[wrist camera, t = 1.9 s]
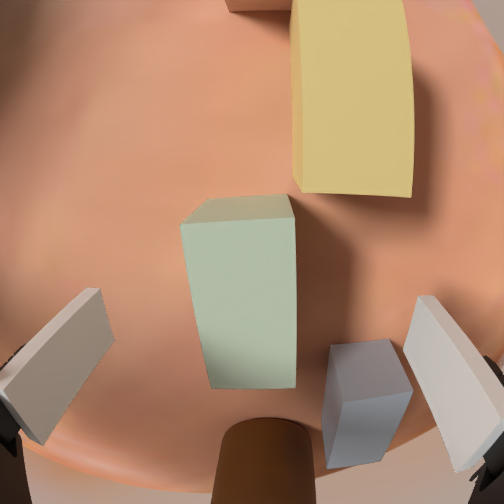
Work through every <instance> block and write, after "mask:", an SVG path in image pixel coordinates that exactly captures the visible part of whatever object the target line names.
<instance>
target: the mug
mask: <svg viewBox="0 0 504 504" xmlns="http://www.w3.org/2000/svg"><path fill="white" fill-rule="evenodd" d="M211 504H316V491H315V476H314V465H313V453H312V444H311V439H310V437H309V435H308V433H307V432H306V431H305V430H304V429H303V428H302V427H301V426H299V425H297V424H295V423H293V422H290V421H286V420H281V419H274V418H258V419H251V420H246V421H243V422H240V423H238V424H236V425H234V426H232V427H231V428H230V429H229V430H228V431H227V432H226V433H225V435H224V437H223V440H222V443H221V449H220V455H219V460H218V465H217V470H216V476H215V482H214V488H213V494H212V500H211Z"/></svg>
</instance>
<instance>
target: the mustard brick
mask: <svg viewBox="0 0 504 504" xmlns="http://www.w3.org/2000/svg"><path fill="white" fill-rule="evenodd" d="M289 33H290V55H291V84H292V137H293V178H294V180H295V181H296V183H297V184H298V186H299V188H300V189H301V191H302V193H333V194H358V195H378V196H394V197H408V198H411V195H412V182H413V165H414V93H413V77H412V65H411V55H410V46H409V38H408V31H407V24H406V18H405V13H404V7H403V2H402V0H293V3H292V10H291V16H290V23H289Z"/></svg>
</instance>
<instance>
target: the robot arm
mask: <svg viewBox="0 0 504 504" xmlns="http://www.w3.org/2000/svg"><path fill="white" fill-rule="evenodd" d="M114 341H115V340H114V337H113V334H112V330H111V327H110V323H109V320H108V316H107V313H106V309H105V305H104V301H103V297H102V293H101V289H100V288H89V287H87V288H86V289H84V290H83V291H82V292H81V293H80V294H79V295H78V296H77V297H75V298H74V299H73V300H72V301H71V302H70V303H69V304H68V305H67V306H66V307H64V308H63V309H62V310H61V311H60V312H59V313H58V314H57V315H56V316H55V317H54V318H53V319H52V320H51V321H50V322H48V323H47V324H46V325H45V326H44V327H43V328H42V329H41V330H40V331H39V332H38V333H37V334H36V335H35V336H34V337H33V338H32V339H31V340H30V341H29V342H27V343H26V344H24V345H22V346H21V347H20V348H19V349H18V350H17V351H16V352H15V353H14V356H11V357H10V358H9V359H8V362H6V363H5V364H4V365H3V366H2V367H1V368H0V504H32V501H31V496H30V492H29V487H28V482H27V476H26V470H25V463H24V456H23V448H22V440H21V436H20V435H19V433H18V432H19V430H20V429H22V430H23V431H24V433H25V434H26V435H27V437H28V438H29V439H31V440H33V441H35V442H37V443H39V444H40V445H42V446H44V444H45V442H46V441H47V439H48V437H49V436H50V434H51V433H52V431H53V430H54V428H55V426H56V425H57V423H58V422H59V420H60V419H61V417H62V416H63V414H64V413H65V411H66V409H67V408H68V406H69V405H70V403H71V402H72V400H73V399H74V397H75V396H76V394H77V393H78V392H79V390H80V389H81V387H82V386H83V384H84V383H85V381H86V380H87V378H88V377H89V376H90V374H91V373H92V371H93V370H94V368H95V367H96V366H97V364H98V363H99V361H100V360H101V359H102V357H103V356H104V354H105V353H106V352H107V350H108V349H109V347H110V346H111V345H112V343H113V342H114ZM403 352H404V354H405V356H406V358H407V360H408V362H409V364H410V366H411V368H412V370H413V372H414V374H415V377H416V379H417V381H418V383H419V385H420V387H421V389H422V392H423V394H424V396H425V398H426V401H427V403H428V405H429V407H430V410H431V412H432V414H433V417H434V419H435V421H436V424H437V426H438V429H439V431H440V434H441V436H442V439H443V441H444V444H445V446H446V449H447V452H448V454H449V457H450V460H451V462H452V465H453V468H454V471H455V473H457V472H460V471H463V470H466V469H468V468H471V467H473V466H474V465H475V464H476V463H477V462H478V461H479V460H480V459H481V458H482V457H484V460H485V463H484V464H483V465H482V466H481V467H480V468H479V469H478V470H477V471H476V472H475V473H474V474H473V475H472V477H471V479H470V480H469V481H473V480H474V479H475V478H476V477H477V476H478V475H479V476H478V478H477V481H476V482H475V483H476V484H475V487H474V489H473V492H472V495H471V497H470V500H469V502H468V504H504V375H503V373H502V371H501V370H500V368H499V367H498V366H497V364H496V363H495V362H493V361H492V360H491V359H490V358H488V357H487V356H481V354H480V353H479V352H478V350H477V349H476V347H475V346H474V345H473V344H472V342H471V341H470V340H469V338H468V337H467V336H466V334H465V333H464V332H463V331H462V329H461V328H460V327H459V326H458V324H457V323H456V322H455V321H454V319H453V318H452V317H451V316H450V314H449V313H448V312H447V311H446V310H445V308H444V307H443V306H442V305H441V304H440V303H439V301H438V300H437V299H436V298H435V297H434V296H433V295H427V296H418V298H417V302H416V306H415V310H414V313H413V317H412V321H411V324H410V328H409V331H408V334H407V338H406V341H405V344H404V347H403Z"/></svg>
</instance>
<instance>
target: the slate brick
mask: <svg viewBox="0 0 504 504" xmlns="http://www.w3.org/2000/svg"><path fill="white" fill-rule="evenodd" d="M413 391H414V390H413V388H412V386H411V384H410V382H409V379H408V377H407V375H406V373H405V371H404V369H403V367H402V365H401V362H400V360H399V358H398V356H397V354H396V352H395V350H394V348H393V346H392V344H391V342H390V340H389V339H382V340H374V341H365V342H356V343H345V344H334V345H330V351H329V361H328V370H327V379H326V387H325V395H324V402H323V409H322V416H321V424H322V432H323V441H324V449H325V459H326V468H327V469H334V468H342V467H349V466H356V465H362V464H367V463H373V462H378V461H381V460H382V458H383V456H384V454H385V452H386V450H387V449H388V447H389V445H390V443H391V441H392V439H393V437H394V435H395V432H396V430H397V428H398V426H399V424H400V422H401V420H402V417H403V415H404V413H405V411H406V408H407V406H408V404H409V401H410V399H411V396H412V394H413Z"/></svg>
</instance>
